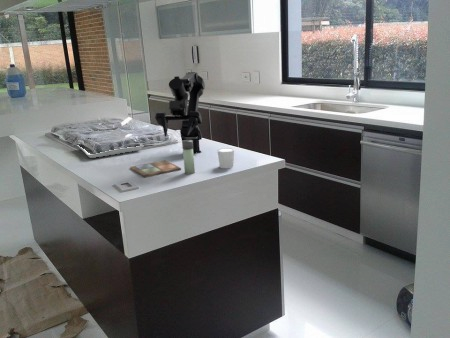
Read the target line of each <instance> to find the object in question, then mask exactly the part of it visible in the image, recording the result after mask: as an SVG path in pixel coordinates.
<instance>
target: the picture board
mask: <svg viewBox="0 0 450 338" xmlns="http://www.w3.org/2000/svg"><path fill="white" fill-rule="evenodd" d="M129 169H130V170H132V171H133V172H135V173H136V174H138V175H139V176H141V177H143V178H148V177H153V176H159V175H163V174H167V173H173V172H176V171H177V172H178V171H181V170H182V168H181V167H179V166H177V165H176V164H174V163H172V162H170V161H168V160H166V159H163V160H159V161H153V162H148V163H143V164H142V163H141V164H138V165H133V166H130V168H129Z"/></svg>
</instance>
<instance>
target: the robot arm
mask: <svg viewBox="0 0 450 338" xmlns="http://www.w3.org/2000/svg"><path fill="white" fill-rule="evenodd" d="M168 87H169V89H170V92H171V94H172V96H173V97H174V100H169V101H168V109H169V111H170V114H169V115H168V114H167V113H166V112H161V111H160V112H159V111H157V112H156V113H155V116H154V119H155V121H156V122H157V124H158V125H159V126H161V127H162V129H163V134H164V137H167V135H168V128H169V124H168V123H169V121H182V124H181V127H180V128H179V130H180V131H179V132H180V137H181V142H182V141H183V140H193V154H199V153H202V150H200V141H201V140H203V139H202V138H203V136H202V132H201V130H200V127H199V125H201V124H202V122H203V121H202V120H203V119H202V114H201V112H200V111H198V110H199V109H198V108H199V101H200V98H201V96H203V95H204V90H205V81H204V78H202V77H201V76H200V75H199V74H198V72H196V71H189V72H186V73H185V75H184V76H183V77H182V78H180V76H179V75H178V76H177V75H176V76H174V78H172V79H171V80H169V82H168Z"/></svg>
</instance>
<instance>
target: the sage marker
mask: <svg viewBox="0 0 450 338" xmlns="http://www.w3.org/2000/svg"><path fill="white" fill-rule="evenodd" d="M181 145H182V147H181V148H182V153H183V164H184V165H183V167H184V174H185V175H193V174H195V173H196V172H195V171H196V170H195V169H196V168H195V156H194V154H195V153H194V154H193V140H183V141H182V140H181Z"/></svg>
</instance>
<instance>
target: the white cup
mask: <svg viewBox="0 0 450 338" xmlns="http://www.w3.org/2000/svg"><path fill="white" fill-rule="evenodd" d="M217 156H218V158H217V159H218V162H219V163H218V164H219V165H218V166H219V168H221V169H231V168H233V167H234V163H235V162H234V159H235V157H234V156H235V149H234V148H229V147H227V148H225V147H224V148H220V149H218V150H217Z"/></svg>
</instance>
